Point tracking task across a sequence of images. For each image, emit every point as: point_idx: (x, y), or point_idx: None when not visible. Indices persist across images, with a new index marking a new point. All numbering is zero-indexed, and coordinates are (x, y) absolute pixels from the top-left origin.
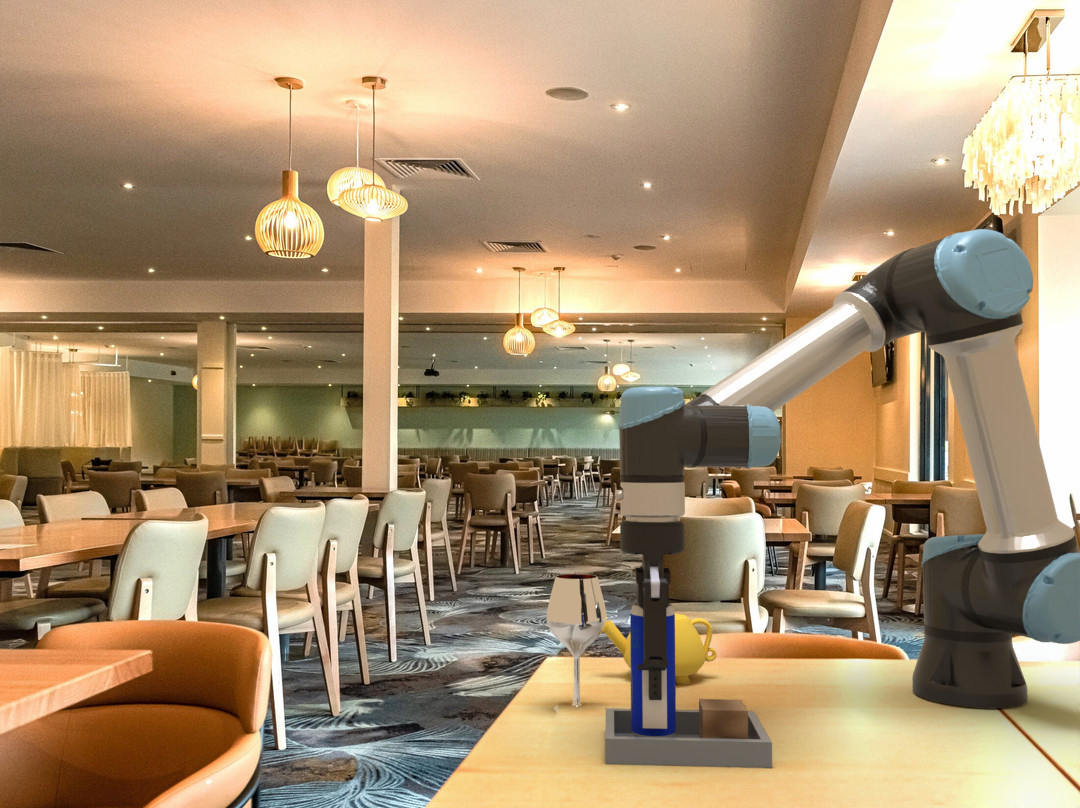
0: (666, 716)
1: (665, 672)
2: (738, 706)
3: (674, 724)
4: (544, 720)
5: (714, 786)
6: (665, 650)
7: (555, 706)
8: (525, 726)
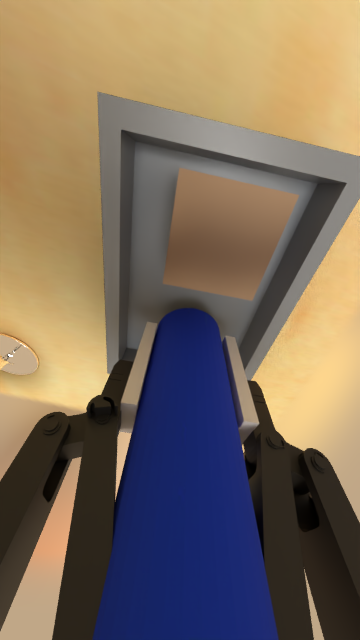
0: (238, 350)
1: (256, 419)
2: (248, 207)
3: (207, 319)
4: (62, 383)
5: (329, 279)
6: (351, 510)
7: (9, 372)
8: (87, 397)
